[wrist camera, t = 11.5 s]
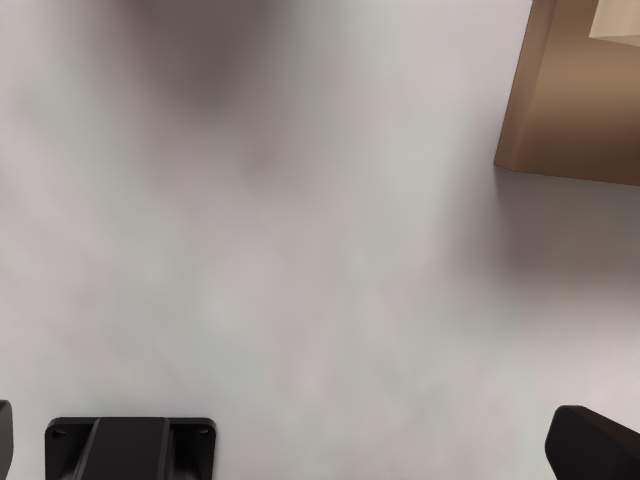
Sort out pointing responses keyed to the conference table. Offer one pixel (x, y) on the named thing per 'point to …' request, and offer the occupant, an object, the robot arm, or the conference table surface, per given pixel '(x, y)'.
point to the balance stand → (573, 100)
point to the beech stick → (617, 21)
